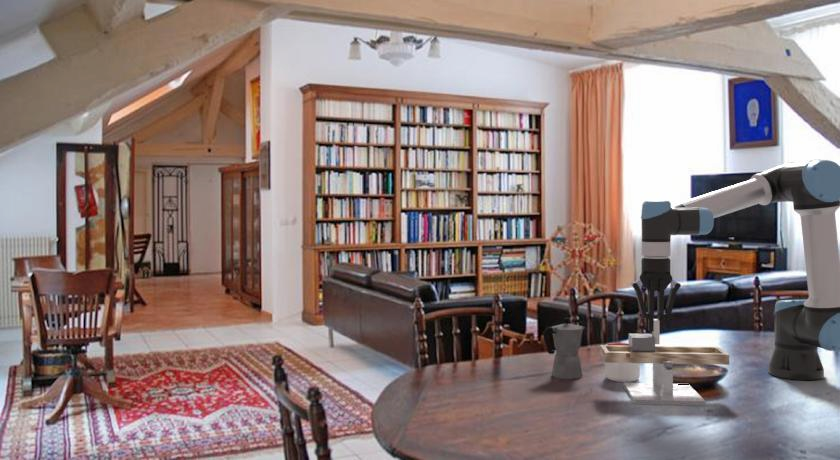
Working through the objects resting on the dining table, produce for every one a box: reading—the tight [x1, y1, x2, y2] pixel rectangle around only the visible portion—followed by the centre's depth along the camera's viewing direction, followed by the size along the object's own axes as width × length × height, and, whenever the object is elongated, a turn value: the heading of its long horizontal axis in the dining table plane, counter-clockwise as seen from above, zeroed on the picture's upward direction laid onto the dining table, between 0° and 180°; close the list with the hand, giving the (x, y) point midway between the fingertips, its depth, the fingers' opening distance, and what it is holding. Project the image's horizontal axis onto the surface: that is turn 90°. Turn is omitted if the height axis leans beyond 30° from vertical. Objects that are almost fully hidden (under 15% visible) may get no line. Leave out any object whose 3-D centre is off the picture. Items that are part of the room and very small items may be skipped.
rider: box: [628, 333, 656, 352], centre depth 196 cm, size 6×6×5 cm
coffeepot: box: [542, 317, 586, 380], centre depth 219 cm, size 15×9×18 cm, turn 116°
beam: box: [599, 344, 730, 366], centre depth 196 cm, size 32×11×4 cm, turn 83°
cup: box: [604, 342, 641, 383], centre depth 215 cm, size 10×10×10 cm
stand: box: [623, 360, 707, 407], centre depth 196 cm, size 18×18×11 cm
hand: (655, 343), depth 196 cm, fingers closed
